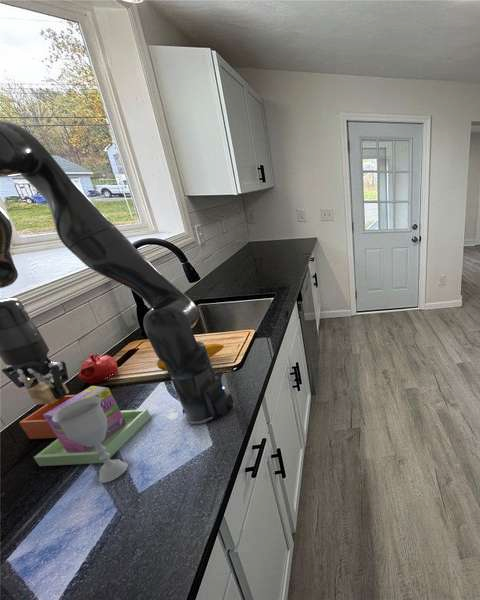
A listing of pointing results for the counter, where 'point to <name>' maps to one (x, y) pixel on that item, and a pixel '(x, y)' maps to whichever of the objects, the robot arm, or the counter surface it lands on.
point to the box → (108, 407)
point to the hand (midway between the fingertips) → (52, 397)
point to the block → (43, 393)
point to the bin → (41, 421)
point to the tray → (113, 443)
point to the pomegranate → (97, 368)
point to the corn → (211, 351)
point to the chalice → (90, 432)
